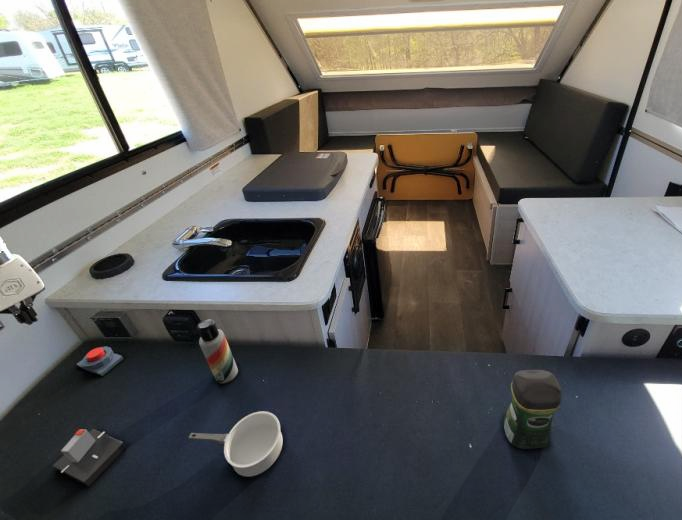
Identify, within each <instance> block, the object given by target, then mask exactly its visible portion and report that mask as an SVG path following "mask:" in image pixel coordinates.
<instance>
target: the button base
mask: <svg viewBox="0 0 682 520" xmlns="http://www.w3.org/2000/svg"><path fill="white" fill-rule="evenodd" d="M99 348H102V349H103V351H104V352H105V355H104V356H103V357H102V358H101V359H99V360H97V361H95V362H90V361H89V360H88V359H87V357H86V355H85V356H84V357H83V358H82V360H80V361H79V362H77V363H76V366H77V367H78V368H80V369H83V370H85V371H88V372H90V373H92V374H95V375H98V376H101V377H103V376H104V375H106V374H107V373H108V372H109V371H110V370H112V369H113V368H114V367H115V366H117V365H118V364H119V363H120V362H122V361H123V360H124V359H125V358H124V357H123V355H121V354H118V353H114V351H113V350H112V348H111V347H109V346H100V347H99Z"/></svg>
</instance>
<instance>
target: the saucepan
mask: <svg viewBox="0 0 682 520" xmlns="http://www.w3.org/2000/svg"><path fill="white" fill-rule="evenodd" d="M187 439H188V440H193V441H207V442H213V443H216V444H218V445H220V446H223V455H224V458H225V459H226V461H227V463H228V464H230V465H231V466H232V468H233V470H234V471H235V472H236V474H238V475H240V476H242V477H255V476H258V475H260V474H263V473H264V472H265V471H267V470H268V469H269V468H271V466H272V465H274V463H275V462H276V460H277V459H278V458H279V456H280V454H281V451H282V449H283V442H284V441H283V439H284V438H283V434H282V432H281V423H280V421H279V419H278V417H277V416H276V415H275V414H274V413H272V412H269V411H265V410H262V411H261V410H260V411H256V412H252V413H249V414H248V415H246V416H244V417H243V418H241V419H240V420H239V421H237V423H235V425H234V426H233V427H232V428H231V430H230V431H229V433H223V434H222V433H204V432H191V433H190V434H189V436H188V438H187Z"/></svg>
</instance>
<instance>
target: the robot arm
mask: <svg viewBox="0 0 682 520" xmlns="http://www.w3.org/2000/svg"><path fill="white" fill-rule="evenodd" d="M45 290H46V287H45V284H44V282H43V280H42V278H41V277H40V276H39V274H37V273H36V271H35V269H33V268H32V267H31V265H30V264H29V263H28V262H27V261H26V260H25V258H23V257H22V256H21V255H20V254H15V253H12V252H11V250H10V248H9V247H8V245H7V244H6V243H5V241H4V239H3V238H2V237H1V236H0V315H1V314H2V315H3V314H4V315H7V314H8V315H12V316H13V317H14V318H15V320H16V321H17V322H18V324H20V325H23V324H26V325H28V326H31V325H33V323H37V322H38V321H39V319H38V318H37V316H38V313H37V312H36V310H35V309H34V308H33V307H34V301H35V299H36V298H37V296H38V295H40V294H42V292H44V291H45ZM17 304H18V305H19V306H17Z"/></svg>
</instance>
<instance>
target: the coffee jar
mask: <svg viewBox="0 0 682 520" xmlns="http://www.w3.org/2000/svg"><path fill="white" fill-rule="evenodd" d="M510 389H511V395H512V397H511V399H510V403H509V405H508V407H507V410H506V412H505V415H504V418H503V429H504V432H505V435H506V438H507V440H508V442H509V443H511V445H512V446H514V447H515V448H518V449H524V450H534V449H535V450H536V449H540V448H545V447H547V445H548V444H549V442H550V438H551V430H552V423H553V419H554V415H555V413H556V412H557V411H558V409H559V408H560V406H561V405H562V395H563V394H562V389H561V386H560V383H559V381H558V379H557V378H556V376H555V374H554V373H553V372H552V373H551V372H550V371H547V370H545V369H525V370H518V371H516V372H515V374H514V376H513V379H512V381H511V383H510Z"/></svg>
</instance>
